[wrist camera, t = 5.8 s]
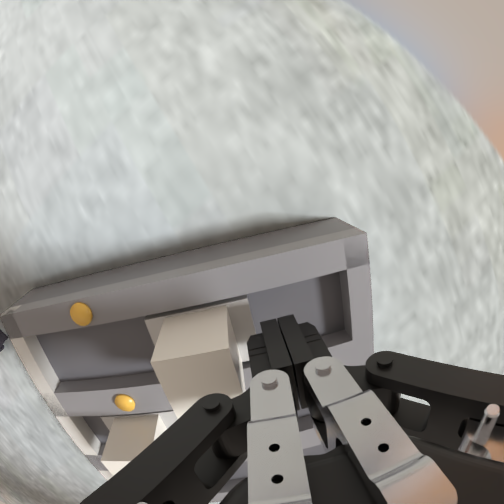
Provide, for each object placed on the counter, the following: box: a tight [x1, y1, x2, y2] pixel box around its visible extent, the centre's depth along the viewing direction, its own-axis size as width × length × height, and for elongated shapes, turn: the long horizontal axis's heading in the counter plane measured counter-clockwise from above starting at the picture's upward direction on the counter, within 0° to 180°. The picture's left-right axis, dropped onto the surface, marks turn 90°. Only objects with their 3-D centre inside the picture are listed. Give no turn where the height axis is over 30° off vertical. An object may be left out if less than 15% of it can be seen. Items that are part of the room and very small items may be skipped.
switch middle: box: [101, 410, 178, 476], centre depth 15 cm, size 5×3×4 cm
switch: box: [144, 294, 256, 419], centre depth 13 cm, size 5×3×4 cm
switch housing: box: [0, 217, 374, 502], centre depth 18 cm, size 20×19×4 cm
